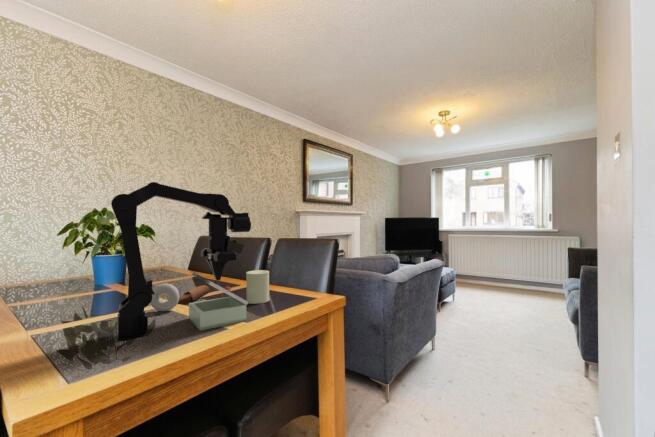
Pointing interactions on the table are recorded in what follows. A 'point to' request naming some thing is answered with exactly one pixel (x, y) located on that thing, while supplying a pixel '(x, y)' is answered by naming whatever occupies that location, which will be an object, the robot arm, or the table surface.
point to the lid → (220, 288)
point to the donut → (172, 294)
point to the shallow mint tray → (216, 312)
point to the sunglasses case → (193, 294)
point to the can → (257, 286)
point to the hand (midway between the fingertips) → (218, 280)
